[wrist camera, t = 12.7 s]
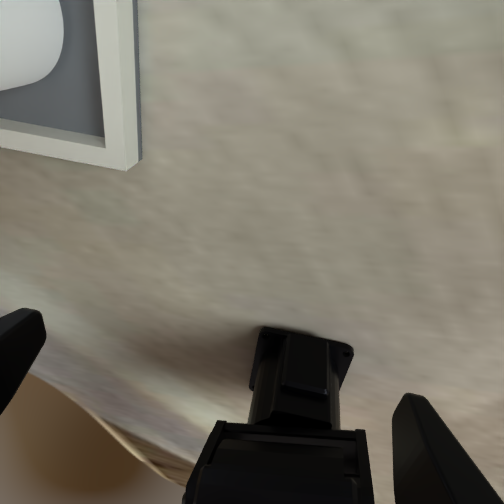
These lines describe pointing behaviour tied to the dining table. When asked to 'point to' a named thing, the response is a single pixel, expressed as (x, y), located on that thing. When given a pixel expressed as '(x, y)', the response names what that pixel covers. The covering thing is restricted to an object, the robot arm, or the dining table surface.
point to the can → (29, 40)
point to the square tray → (83, 91)
